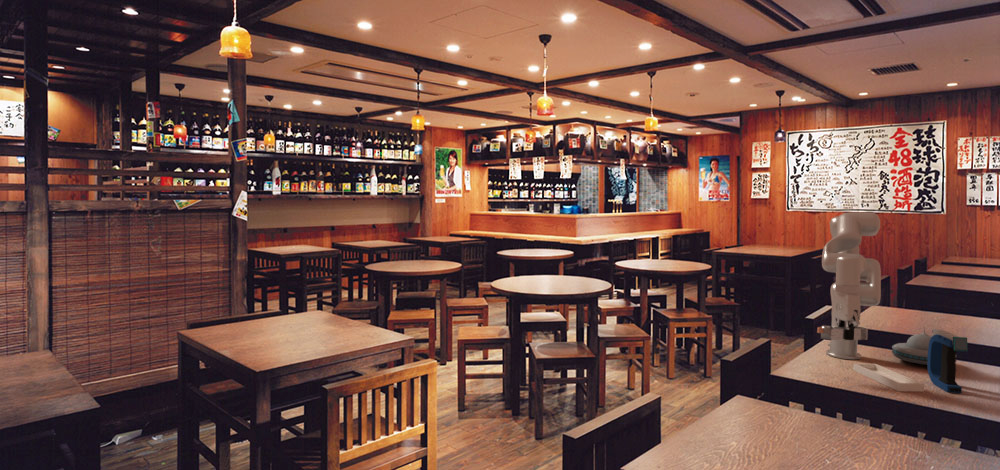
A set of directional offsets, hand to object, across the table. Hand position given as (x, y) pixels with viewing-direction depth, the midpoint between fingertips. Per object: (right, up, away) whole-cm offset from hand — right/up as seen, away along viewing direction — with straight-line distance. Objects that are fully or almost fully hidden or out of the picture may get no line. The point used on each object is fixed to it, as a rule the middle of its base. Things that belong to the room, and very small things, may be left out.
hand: (845, 337), depth 199 cm
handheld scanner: (+28, -16, -11) cm, 34 cm away
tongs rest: (+13, -15, -3) cm, 20 cm away
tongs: (-2, 0, 0) cm, 2 cm away
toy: (+43, -14, +18) cm, 48 cm away
